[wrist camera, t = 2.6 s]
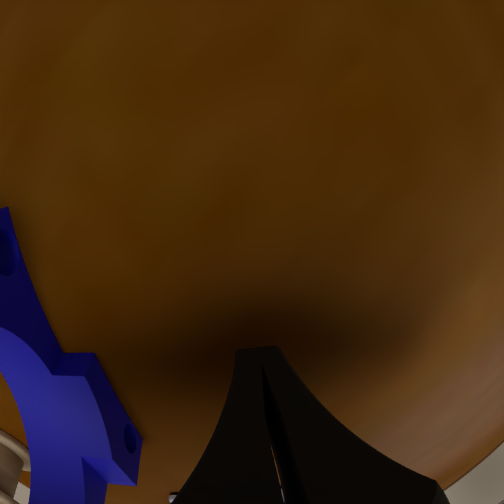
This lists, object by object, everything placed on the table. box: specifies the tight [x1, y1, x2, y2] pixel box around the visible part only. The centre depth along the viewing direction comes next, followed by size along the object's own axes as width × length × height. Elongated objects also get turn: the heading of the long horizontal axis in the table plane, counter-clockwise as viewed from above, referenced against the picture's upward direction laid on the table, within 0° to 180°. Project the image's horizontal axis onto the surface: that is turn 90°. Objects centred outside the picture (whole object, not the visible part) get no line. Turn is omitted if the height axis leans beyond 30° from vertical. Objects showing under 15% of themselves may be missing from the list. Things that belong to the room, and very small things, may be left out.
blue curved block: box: [0, 207, 143, 504], centre depth 8 cm, size 12×4×6 cm, turn 5°
